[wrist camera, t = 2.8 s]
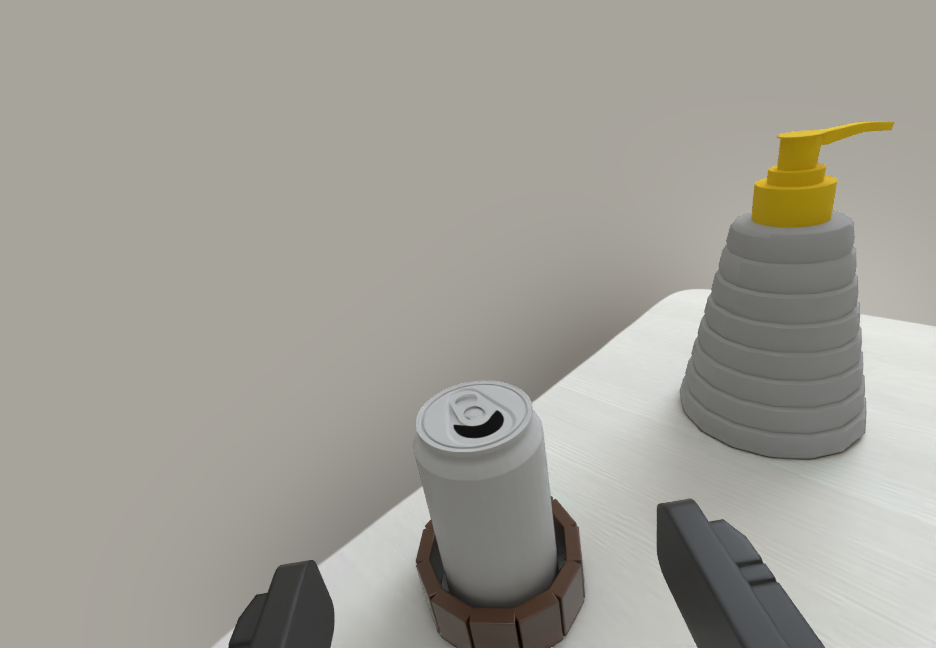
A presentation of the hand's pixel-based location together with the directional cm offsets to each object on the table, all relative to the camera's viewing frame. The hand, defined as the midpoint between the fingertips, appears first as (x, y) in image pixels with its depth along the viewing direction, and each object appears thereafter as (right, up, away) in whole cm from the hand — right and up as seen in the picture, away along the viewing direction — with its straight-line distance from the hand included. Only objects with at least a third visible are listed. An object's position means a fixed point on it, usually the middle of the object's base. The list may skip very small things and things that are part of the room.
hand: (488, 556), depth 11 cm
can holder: (+2, -9, +17) cm, 19 cm away
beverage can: (+2, -10, +17) cm, 20 cm away
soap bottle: (+23, -1, +27) cm, 35 cm away
